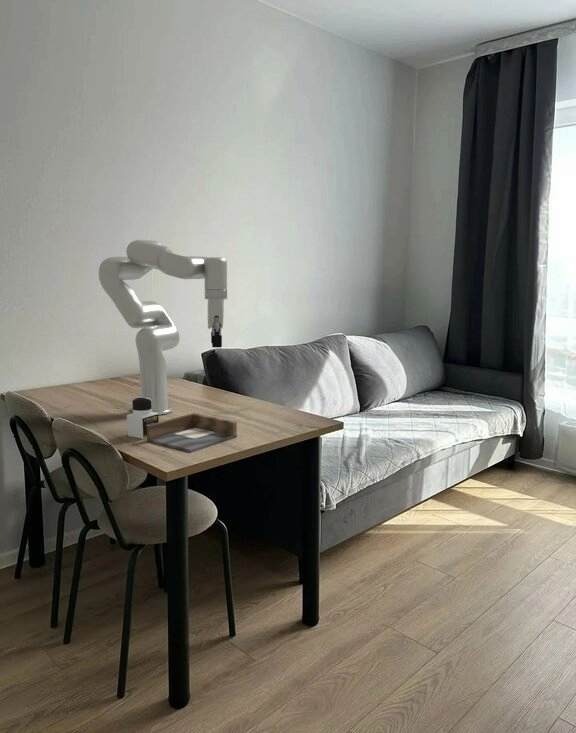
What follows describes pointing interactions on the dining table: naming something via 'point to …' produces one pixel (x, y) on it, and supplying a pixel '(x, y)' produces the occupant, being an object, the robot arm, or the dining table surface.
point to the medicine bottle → (141, 418)
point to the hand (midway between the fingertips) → (216, 345)
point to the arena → (191, 432)
